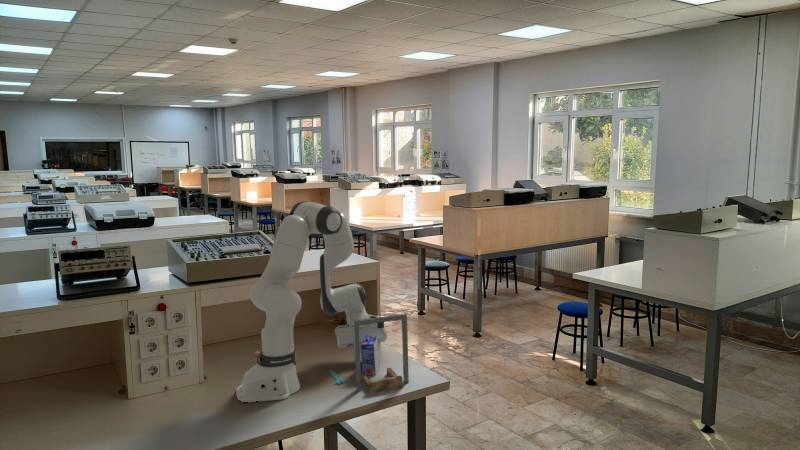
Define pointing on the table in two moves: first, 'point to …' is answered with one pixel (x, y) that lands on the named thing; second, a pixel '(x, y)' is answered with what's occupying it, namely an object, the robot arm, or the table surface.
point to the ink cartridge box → (370, 354)
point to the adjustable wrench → (337, 379)
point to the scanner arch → (380, 324)
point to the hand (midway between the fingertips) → (365, 354)
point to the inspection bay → (382, 382)
